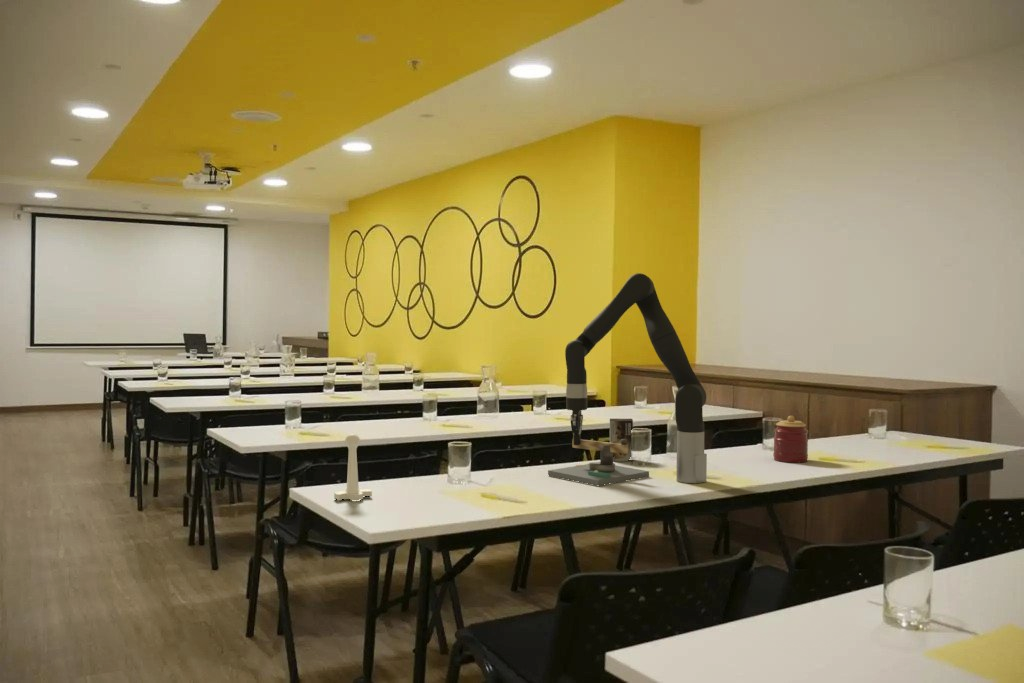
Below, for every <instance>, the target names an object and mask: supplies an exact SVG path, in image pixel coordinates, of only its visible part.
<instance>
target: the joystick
mask: <svg viewBox="0 0 1024 683" xmlns="http://www.w3.org/2000/svg"><path fill="white" fill-rule="evenodd" d="M360 439H361V438H360V437H359V436H358V435H357V434H356V433H349V434H348V435H346V438H345V440H344V442H345V445H346V447H347V449H348V453H347V454H348V455H347V456H348V458H347V459H348V460H347V475H346V476H347V478H346V490H341V491H335V492H334V493H333V494H334V495H333V500H334V499H337V500H336V501H343V500H342V499H344V500H349V499H350V500H349V501H351V500H359V499H364V497H363V496H372V497H373V491H372V490H371V489H369V488H366V489H363V488H362V489H361V488H359V472H358V457H357V454H358V453H357V450H358V447H359V445H360V443H361V440H360Z"/></svg>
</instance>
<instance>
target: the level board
mask: <svg viewBox="0 0 1024 683" xmlns="http://www.w3.org/2000/svg"><path fill="white" fill-rule="evenodd" d="M589 464H590V463H588V464H587V463H586V464H576V465H574V466H568V467H562V468H554V469H549V470H547V476H548V475H549V476H548V477H550V476H554V477H553V478H555V477H559V478H558V479H560V478H564V479H563V480H565V479H569V480H574V481H579V482H583V483H582V484H584V483H588V484H587V485H589V484H593V485H603V486H605V485H604V484H608V485H610V484H609V483H614V484H616V483H615V482H619V483H622V482H621V481H625V482H627V481H626V480H630V481H632V480H631V479H635V480H639V478H641V479H644V478H649V477H650V471H649V470H644V469H639V468H632V467H627V466H621V465H616V464H615V471H611V472H599V471H597V470H595V471H591V470H589ZM569 480H568V481H569ZM574 481H573V482H574ZM579 482H578V483H579ZM593 485H592V486H593Z"/></svg>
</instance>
